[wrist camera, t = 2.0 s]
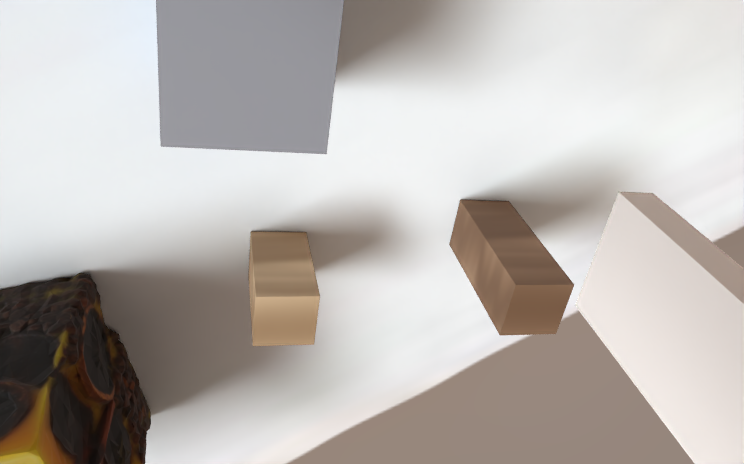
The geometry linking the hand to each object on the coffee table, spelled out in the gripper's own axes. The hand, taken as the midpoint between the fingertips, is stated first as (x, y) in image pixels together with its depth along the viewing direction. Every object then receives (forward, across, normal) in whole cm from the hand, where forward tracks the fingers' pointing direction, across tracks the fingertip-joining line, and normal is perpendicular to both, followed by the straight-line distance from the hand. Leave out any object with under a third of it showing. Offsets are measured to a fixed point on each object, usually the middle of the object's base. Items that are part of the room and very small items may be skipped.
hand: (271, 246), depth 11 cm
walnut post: (+16, +12, -9) cm, 22 cm away
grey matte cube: (+16, 0, 0) cm, 16 cm away
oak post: (+16, +2, -11) cm, 19 cm away
